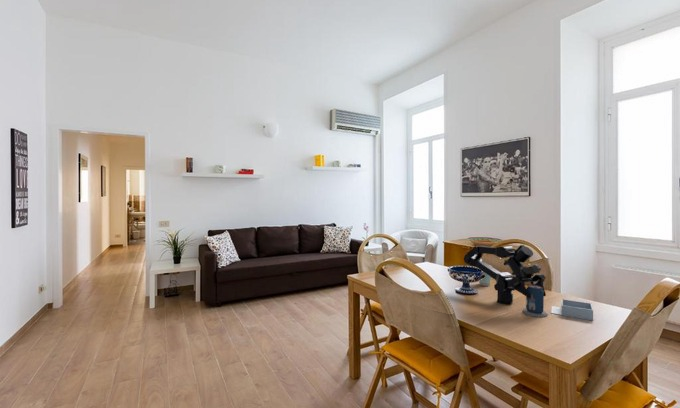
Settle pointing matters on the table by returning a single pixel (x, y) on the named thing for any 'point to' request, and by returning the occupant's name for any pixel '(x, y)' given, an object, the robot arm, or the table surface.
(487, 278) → the coffee cup
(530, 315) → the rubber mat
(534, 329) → the table surface
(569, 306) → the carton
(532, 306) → the soda can
